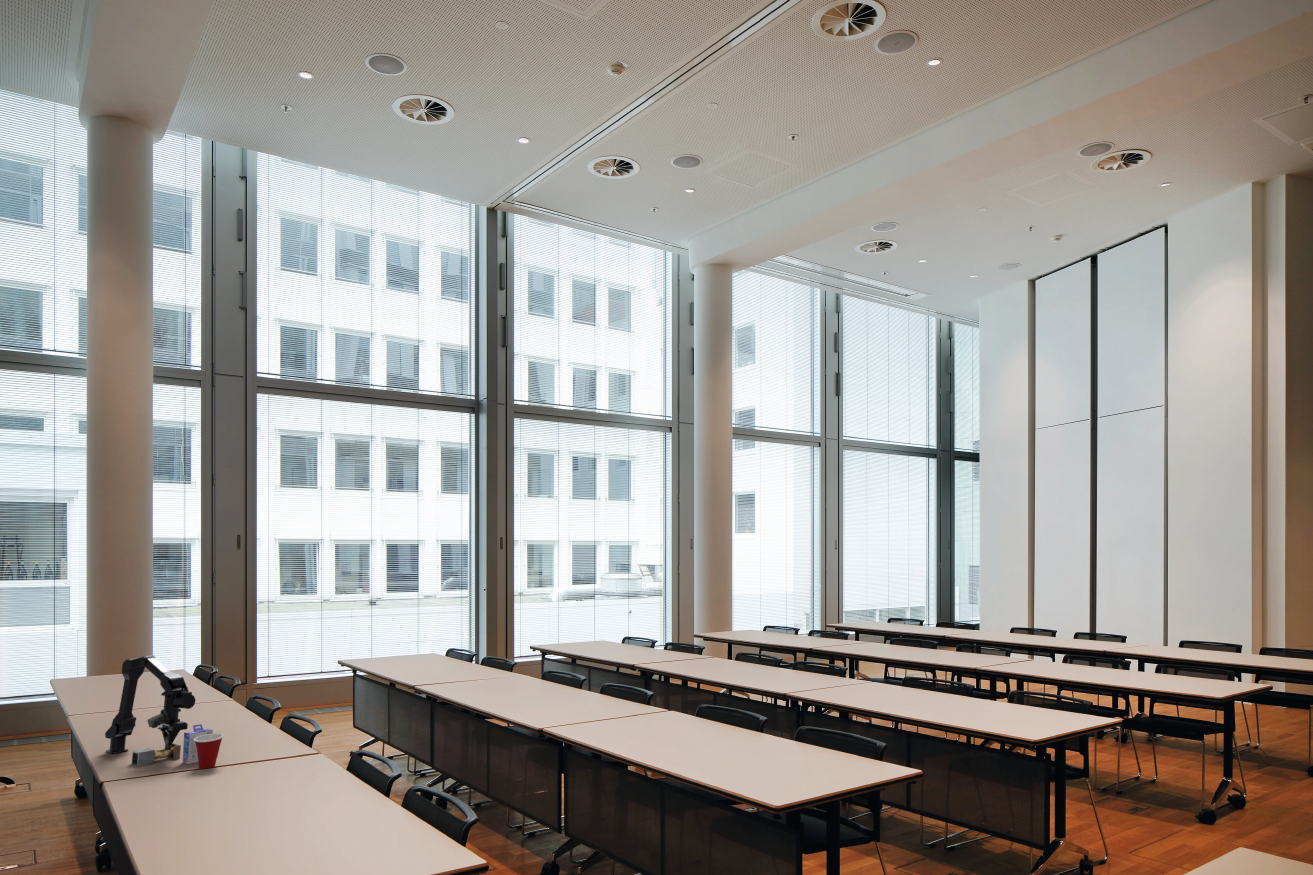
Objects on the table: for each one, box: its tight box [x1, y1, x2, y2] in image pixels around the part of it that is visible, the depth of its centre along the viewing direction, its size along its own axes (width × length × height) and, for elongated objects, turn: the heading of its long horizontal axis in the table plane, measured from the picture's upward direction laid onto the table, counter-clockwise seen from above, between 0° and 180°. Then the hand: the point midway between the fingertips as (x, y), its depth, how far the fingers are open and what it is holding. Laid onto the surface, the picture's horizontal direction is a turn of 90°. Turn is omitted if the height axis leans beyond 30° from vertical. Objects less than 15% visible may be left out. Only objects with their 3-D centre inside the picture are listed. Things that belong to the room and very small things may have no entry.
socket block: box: [167, 742, 182, 760], centre depth 355 cm, size 2×6×5 cm, turn 55°
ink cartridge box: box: [182, 723, 214, 765], centre depth 350 cm, size 10×6×14 cm, turn 145°
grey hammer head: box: [130, 747, 156, 767], centre depth 345 cm, size 6×6×5 cm
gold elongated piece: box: [154, 736, 174, 761], centre depth 351 cm, size 10×4×8 cm, turn 145°
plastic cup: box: [194, 732, 224, 769], centre depth 342 cm, size 11×11×12 cm
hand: (168, 745), depth 353 cm, fingers closed on gold elongated piece, 2 cm apart
